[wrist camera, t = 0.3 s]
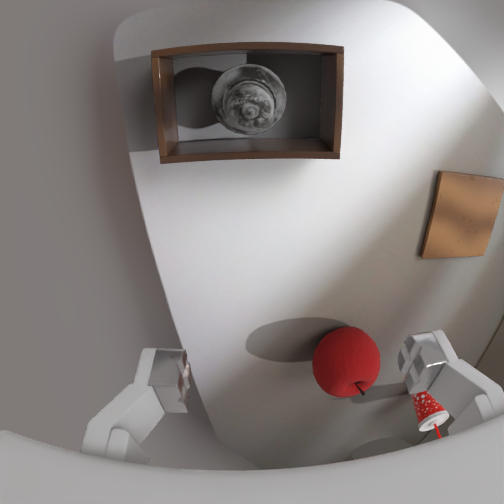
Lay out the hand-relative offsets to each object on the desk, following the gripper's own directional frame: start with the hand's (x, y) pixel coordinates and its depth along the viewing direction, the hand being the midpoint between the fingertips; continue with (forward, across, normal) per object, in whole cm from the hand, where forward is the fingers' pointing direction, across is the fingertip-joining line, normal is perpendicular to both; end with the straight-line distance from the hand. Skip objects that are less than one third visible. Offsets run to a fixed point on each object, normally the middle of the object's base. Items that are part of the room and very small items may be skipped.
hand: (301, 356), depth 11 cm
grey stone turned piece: (+22, +1, -6) cm, 23 cm away
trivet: (+22, -25, +6) cm, 33 cm away
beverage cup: (+22, -30, +42) cm, 56 cm away
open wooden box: (+22, +1, -6) cm, 23 cm away
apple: (+22, -10, +25) cm, 35 cm away
